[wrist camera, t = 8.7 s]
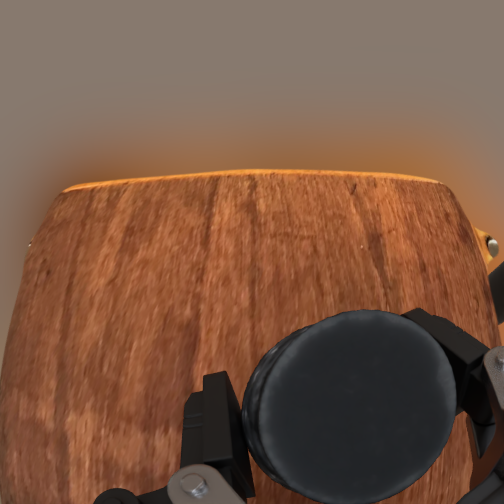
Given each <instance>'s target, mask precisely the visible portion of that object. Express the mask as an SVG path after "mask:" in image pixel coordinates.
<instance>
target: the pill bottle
mask: <svg viewBox="0 0 504 504" xmlns="http://www.w3.org/2000/svg"><path fill="white" fill-rule="evenodd" d="M455 386H456V383H455V379H454V375H453V371H452V367H451V365H450V364H449V361H448V358H447V356H446V355H445V352H444V351H443V349H442V348H441V346H440V345H439V344H438V343H437V341H436V340H435V339H434V338H433V337H432V336H431V335H430V334H429V333H428V332H427V331H425V329H424V328H422V327H421V326H420V325H418V324H417V323H415V322H413V321H412V320H410V319H406V318H404V317H402V316H400V315H398V314H394V313H390V312H386V311H380V310H365V309H363V310H357V311H348V312H342V313H339V314H337V315H334V316H331V317H327V318H326V319H324V320H322V321H320V322H318V323H316V324H313V325H309V326H306V327H304V328H302V329H298V330H297V331H295V332H293V333H291V334H290V335H289V336H287V337H285V338H284V339H282V340H281V341H280V342H278V343H277V344H276V345H275V346H274V347H273V348H271V349H270V350H269V351H268V352H267V353H266V354H265V355H264V356H263V358H262V359H261V360H260V362H259V364H258V365H257V367H256V368H255V370H254V372H253V373H252V375H251V377H250V379H249V382H248V383H247V387H246V390H245V392H244V398H243V403H242V409H241V423H242V431H243V435H244V437H245V441H246V444H247V447H248V450H249V452H250V453H251V456H252V457H253V459H254V460H255V462H256V463H257V464H258V466H259V467H260V468H261V469H262V470H263V472H264V473H266V474H267V475H268V476H269V477H270V478H271V479H272V480H273V481H275V482H277V483H279V484H281V485H282V486H283V487H285V488H287V489H289V490H292V491H294V492H296V493H299V494H301V495H303V496H305V497H307V498H309V499H311V500H313V501H317V502H320V503H324V504H371V503H376V502H379V501H382V500H384V499H387V498H390V497H392V496H394V495H396V494H398V493H400V492H401V491H403V490H405V489H406V488H408V487H409V486H411V485H412V484H413V483H414V482H415V481H417V480H418V479H419V478H421V477H422V476H423V475H424V474H425V473H426V472H427V471H428V469H429V468H430V467H431V466H432V464H433V463H434V462H435V461H436V459H437V458H438V457H439V455H440V454H441V452H442V450H443V448H444V446H445V445H446V443H447V441H448V438H449V435H450V433H451V430H452V427H453V423H454V420H455V414H456V405H457V401H456V387H455Z"/></svg>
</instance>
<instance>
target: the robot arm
mask: <svg viewBox="0 0 504 504" xmlns="http://www.w3.org/2000/svg"><path fill="white" fill-rule="evenodd" d="M400 316H402V317H404V318H406V319H410V320H412V321H413V322H415V323H417V324H418V325H420V326H421V327H422V328H424V329H425V331H427V332H428V333H429V334H430V335H431V336H432V337H433V338H434V339H435V340H436V341H437V343H438V344H439V345H440V346H441V348H442V349H443V351H444V352H445V355H446V356H447V358H448V361H449V364H450V365H451V367H452V371H453V375H454V379H455V383H456V386H455V387H456V401H457V405H456V414H455V416H457V415H458V414H460V413H461V412H463V411H465V412H466V413H467V417H466V427H467V432H468V437H469V442H470V448H471V454H472V461H473V470H472V474H471V478H470V486H469V490H470V491H469V492H468V493H467V494H465V495H464V496H463V497H462V498H461V499H460V500H459V501H458V502H457V503H456V504H504V346H498V347H494V348H492V349H489V348H488V347H487V346H485V345H484V344H482V343H481V342H480V341H478V340H477V339H475V338H474V337H472V336H471V335H470V334H468V333H467V332H465V331H464V332H463V330H462V329H461V328H459V327H458V326H457V327H456V326H455V324H453V323H452V322H450V321H449V320H447V319H446V318H442V317H439V316H436V315H430V314H429V313H427V312H426V311H424V310H423V309H421V308H416V309H413V310H411V311H409V312H406V313H404V314H402V315H400ZM255 496H256V495H255V489H254V483H253V478H252V472H251V466H250V460H249V454H248V448H247V444H246V441H245V437H244V435H243V431H242V423H241V409H240V406H239V403H238V400H237V398H236V395H235V392H234V390H233V387H232V384H231V382H230V379H229V376H228V374H227V372H226V371H221V372H217V373H213V374H208V375H204V376H203V391H200V392H195V393H191V395H190V397H189V398H188V400H187V402H186V403H185V407H184V419H183V432H182V447H181V464H180V469H179V470H178V471H177V472H175V473H174V474H173V475H172V477H171V478H170V480H169V482H168V485H167V486H165V487H164V488H161V489H159V490H156V491H153V492H149V493H146V494H143V495H139V496H135V495H134V494H133V493H132V492H130V491H128V490H126V489H122V488H113V489H109V490H106V491H105V492H103V493H101V494H100V495H99V496H98V497H97V498H96V500H95V501H94V503H93V504H247V499H246V498H250V497H255Z"/></svg>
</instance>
